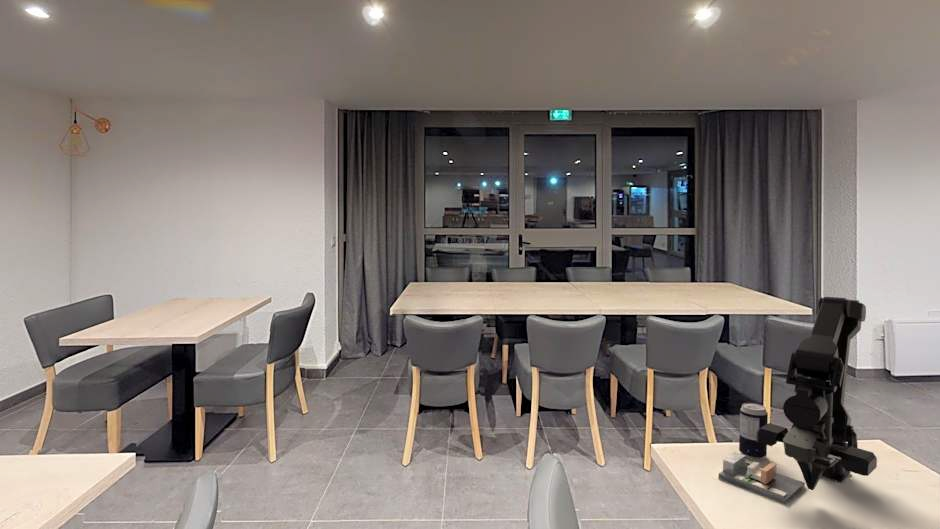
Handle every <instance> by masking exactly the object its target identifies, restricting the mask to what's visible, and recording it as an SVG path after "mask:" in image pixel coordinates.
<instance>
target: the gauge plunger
mask: <svg viewBox="0 0 940 529" xmlns="http://www.w3.org/2000/svg"><path fill="white" fill-rule="evenodd" d="M749 464H750V465H749V466H747V477H746V479H749V478H750V477H751V478H753V479H756V480H759V481H761V483H764V484H767V483H768V482H770V481H771V480H772V479H773V478H775V477H776V473H777V464H776V463H774V462H769V464H767V465H765V466H764V467H761V468H760V463H759V462H756V461H753V462H752V463H749Z"/></svg>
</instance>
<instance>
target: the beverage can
mask: <svg viewBox="0 0 940 529" xmlns="http://www.w3.org/2000/svg"><path fill="white" fill-rule="evenodd" d="M768 415H769V413H768V412H767V408H766V406H764V405H762V404H758V403H755V402H754V403H753V402H744V403H742V404H741V408H740V409H739V432H738V434H739V435H738V436H739V440H738V441H739V442H738V451H739V452H741V453H740V454H743V455H746V458H747V457H749V458H748V459H750V458H752V459H751V460H757V459H758V460H763V458H765V457H766V456H767V455H768V454H767V452H768V451H767V449H768V445H766V444H762V443H759V442H757V441H756V433H757V430H758V429H759V428H761V427H763V426H765V425H767V424H768V423H769V422H768V419H769V418H768V417H769V416H768Z"/></svg>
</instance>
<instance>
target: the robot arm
mask: <svg viewBox="0 0 940 529" xmlns="http://www.w3.org/2000/svg"><path fill="white" fill-rule="evenodd" d="M866 314H867V307H866V305H865V304H864V303H862V302H860V300H858V299H857V300H856V299H848V298H845V297H834V296H823V297H820V298H819V299H817V300H816V307H815V316H816V318H815V321H814V323H813V327H812V330H811V332H810V334H809V337H808V338H805V339H803V340H801V341H799V342H798V345H797V347H796V348H795V351H792V353H791V355H790V360H789V366H788V371H787V374H786V380H785V383H786V384H787V385H792V386H794V392H793V393H792V394H791V395H790V396H788V397H787V399H786V400H785V401H784V402H783V406H782V409H783V414H784V416H785V418H786V419H787V420H788V421H789V422H790V423H791V424H792V426H791V427H790V429H788V428H787V427H785V426H781V425H778V424H774V423H770V422H767V425H765V426H763V427H761V428H759V429H758V430H757V433H756V441H757V442H759V443H762V444H766V445H767V446H769V447H773V446H774V445H776V444H777V443H778V442H780V443H783V448H784V454H785V456H787V457H790V458H792V459H794V461H795V462H796V463H797V465H798V466H799V469H800V471H801V474H802V476H803V479H804V481H805V482H804V483H805V485H806V487H807V489H808V490H811V491H814V490H815V489H816V487H817V485H818V483H819V481H820V479H821V478H822V477H823V478H827V479H830V480H832V481H835V482H838V483H839V482H840V483H842V482H844V481H845V480H846V479H847V478H848V477H849V475H850V474H851V473H854V474H857V475H859V476H862V477H863V476H866V477H867V476H870V474H872V472H873V471H874V470H876V469H877V467H878V466H877V463H878V458H877V456H876V455H875V454H874V452H872V451H869V450H865V449H862V448H859V447H858V435H857V432H856V431H855V428H854V425H851V424H852V418H851V417H850V415H849V411H847V409H846V407H845V404H844V402H845V394H846V393H845V391H846V383H847V375H848V366H849V358H850V357H849V355H850V349H851V348H850V346H851V340H852V339H854V337H855V336H856V335H857V334H858V333H859V332H860V331H861V329H862V322H865V320H866V316H867V315H866ZM795 374H796V375H795Z"/></svg>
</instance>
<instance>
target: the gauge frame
mask: <svg viewBox="0 0 940 529" xmlns="http://www.w3.org/2000/svg"><path fill="white" fill-rule="evenodd" d="M722 461H723V462H722V470H721V471H720V472H719V473H718V479H720V480H721V481H722V480H723V481H725V482H727V483H730V484H733V485H735V486H738V487H740V488H743V489H746V490H748V491H750V492H753V493H756V494H759V495H762V496H763V497H766V498H769V499H771V500H774V501H776V502H779V503H781V504H784V505H786V504H788V503H789V502H790V501H791V500H792V499H794V497H796V496H797V495H798V494H799V493H800V492H801V491H802V490H803V489H805V485H806V482H804V481H801V480H797V479H795V478H792V477H789V476H786V475H784V474H781V473H777V472H776V477H775V478H773V479H772V480H771V481H770V482H768V483H767V484H764V483H761V481H759V480H756V479H753V478H751V477H750V478H749V479H746V477H747V466H749V465H750V464H751V463H750V462H747V457H746V455H743V454H742V453H739V452H737V451H735V452H734V453H732V454H730V455H728V456H726V457H725V458H724V459H722ZM759 467H760V466H759ZM760 468H762V467H760Z"/></svg>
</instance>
